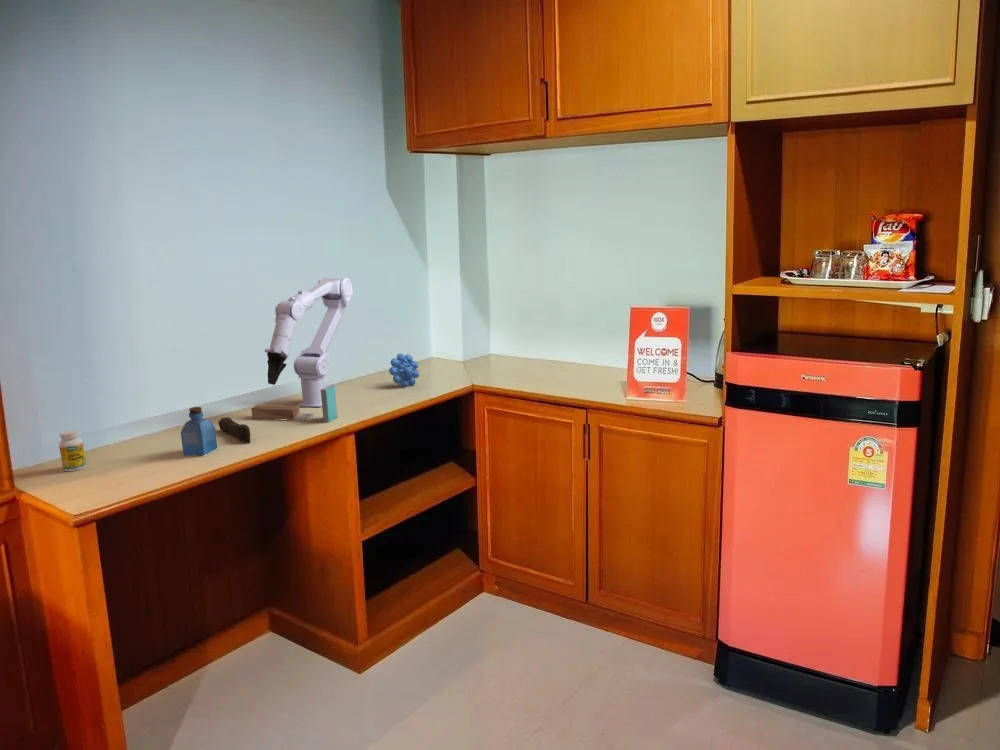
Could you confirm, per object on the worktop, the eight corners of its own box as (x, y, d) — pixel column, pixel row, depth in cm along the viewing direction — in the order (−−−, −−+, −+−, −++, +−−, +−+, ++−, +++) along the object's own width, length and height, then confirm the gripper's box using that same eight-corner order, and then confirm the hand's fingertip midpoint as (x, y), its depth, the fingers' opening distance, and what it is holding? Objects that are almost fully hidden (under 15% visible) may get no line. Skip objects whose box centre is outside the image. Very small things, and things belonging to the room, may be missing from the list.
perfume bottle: (217, 448, 221) (212, 405, 218) (204, 456, 215) (199, 411, 212) (197, 448, 222) (191, 405, 220) (183, 455, 216) (177, 411, 214)
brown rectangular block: (260, 415, 254) (259, 404, 253) (313, 417, 249) (312, 406, 249) (251, 419, 249) (250, 408, 249) (305, 421, 245) (304, 410, 244)
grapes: (397, 392, 277) (395, 357, 274) (387, 388, 282) (384, 354, 279) (426, 386, 284) (424, 351, 281) (415, 383, 289) (413, 349, 286)
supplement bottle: (81, 463, 213) (75, 428, 211) (90, 467, 209) (84, 431, 207) (59, 469, 209) (53, 433, 207) (68, 473, 206) (62, 436, 203)
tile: (332, 417, 248) (329, 384, 246) (337, 417, 248) (334, 384, 246) (323, 422, 243) (320, 389, 240) (328, 422, 242) (325, 389, 240)
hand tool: (219, 431, 238) (217, 416, 237) (232, 428, 241) (231, 413, 240) (239, 446, 223) (237, 430, 222) (254, 443, 225) (252, 427, 224)
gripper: (268, 341, 255) (258, 383, 251) (268, 328, 241) (257, 372, 237) (291, 346, 256) (281, 388, 252) (292, 334, 242) (281, 378, 239)
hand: (271, 381), depth 245 cm, fingers open, 7 cm apart
